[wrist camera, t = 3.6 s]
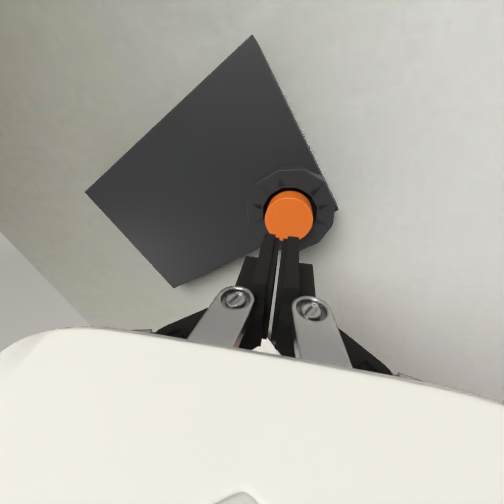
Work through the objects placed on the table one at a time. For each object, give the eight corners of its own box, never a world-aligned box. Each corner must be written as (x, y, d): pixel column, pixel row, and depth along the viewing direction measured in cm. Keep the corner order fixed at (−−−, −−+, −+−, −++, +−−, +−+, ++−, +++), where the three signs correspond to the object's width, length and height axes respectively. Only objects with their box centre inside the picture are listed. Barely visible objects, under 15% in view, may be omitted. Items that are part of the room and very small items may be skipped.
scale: (258, 41, 15) (247, 24, 12) (341, 211, 19) (348, 230, 16) (100, 186, 22) (69, 197, 19) (187, 284, 27) (173, 306, 24)
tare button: (299, 181, 16) (298, 188, 14) (319, 220, 17) (321, 229, 15) (259, 204, 17) (255, 212, 16) (281, 239, 18) (279, 249, 17)
